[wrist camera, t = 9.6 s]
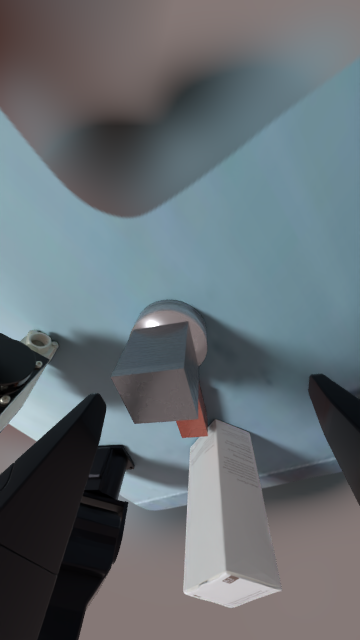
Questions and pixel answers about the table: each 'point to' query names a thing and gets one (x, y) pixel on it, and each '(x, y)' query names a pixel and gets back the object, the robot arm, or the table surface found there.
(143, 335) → the brushed metal block
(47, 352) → the pneumatic valve
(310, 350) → the table surface
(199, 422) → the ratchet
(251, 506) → the skincare box
